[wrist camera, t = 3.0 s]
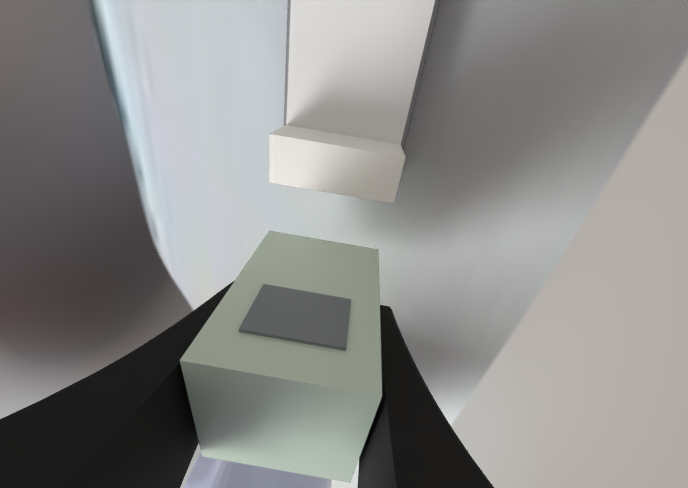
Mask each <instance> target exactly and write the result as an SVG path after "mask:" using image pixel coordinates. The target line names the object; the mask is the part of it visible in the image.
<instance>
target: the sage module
mask: <svg viewBox="0 0 688 488" xmlns="http://www.w3.org/2000/svg"><path fill="white" fill-rule="evenodd" d="M180 364H181V368H182V372H183V377H184V381H185V385H186V389H187V394H188V398H189V402H190V406H191V411H192V415H193V419H194V423H195V428H196V432H197V436H198V440H199V444H200V449H201V453H202V456H203V457H209V458H214V459H220V460H225V461H231V462H237V463H242V464H248V465H253V466H259V467H265V468H270V469H276V470H281V471H287V472H293V473H298V474H304V475H309V476H315V477H321V478H326V479H332V480H337V481H343V482H349V483H350V482H351V479H352V476H353V474H354V471H355V468H356V465H357V463H358V460H359V457H360V455H361V452H362V449H363V447H364V444H365V441H366V439H367V436H368V433H369V430H370V428H371V425H372V422H373V420H374V417H375V414H376V412H377V409H378V406H379V403H380V401H381V398H382V369H381V330H380V290H379V251H378V249H372V248H366V247H361V246H355V245H349V244H343V243H338V242H332V241H326V240H320V239H315V238H309V237H303V236H297V235H292V234H286V233H280V232H274V231H269V232H268V234H267V235H266V237H265V238H264V239H263V241H262V242H261V244H260V245H259V247H258V248H257V250H256V251H255V252H254V254H253V255H252V257H251V258H250V260H249V261H248V263H247V264H246V265H245V267H244V268H243V270H242V271H241V273H240V274H239V276H238V277H237V278H236V280H235V281H234V283H233V284H232V286H231V287H230V289H229V290H228V291H227V293H226V294H225V296H224V297H223V299H222V300H221V302H220V303H219V304H218V306H217V307H216V309H215V310H214V312H213V313H212V315H211V316H210V317H209V319H208V320H207V322H206V323H205V325H204V326H203V328H202V329H201V330H200V332H199V333H198V335H197V336H196V338H195V339H194V341H193V342H192V343H191V345H190V346H189V348H188V349H187V351H186V352H185V353H184V355H183V356H182V358H181V359H180Z"/></svg>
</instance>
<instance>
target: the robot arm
mask: <svg viewBox="0 0 688 488" xmlns="http://www.w3.org/2000/svg"><path fill="white" fill-rule="evenodd" d="M233 283H234V281H233V282H232V283H230V284H229V285H228V286H226V287H225V288H224V289H222V290H221V291H220V292H218V293H217V294H216V295H214V296H213V297H212V298H210V299H209V300H208V301H206V302H205V303H204V304H202V305H201V306H200V307H198V308H197V309H195V310H194V311H193V312H191V313H190V314H188V315H187V316H186V317H184V318H183V319H181V320H180V321H179V322H177V323H176V324H175V325H173V326H171V327H170V328H168V329H167V330H165V331H164V332H162V333H161V334H159V335H158V336H156V337H155V338H153V339H151V340H150V341H148V342H147V343H145V344H144V345H142V346H140V347H139V348H137V349H136V350H134V351H132V352H131V353H129V354H128V355H126V356H124V357H123V358H120V359H119V360H117V361H115V362H114V363H112V364H110V365H108V366H106V367H105V368H103V369H101V370H99V371H98V372H96V373H94V374H92V375H90V376H88V377H86V378H84V379H82V380H80V381H78V382H76V383H74V384H72V385H70V386H69V387H66V388H64V389H62V390H60V391H58V392H56V393H55V394H53V395H51V396H49V397H47V398H45V399H43V400H41V401H39V402H36V403H34V404H32V405H30V406H28V407H26V408H24V409H22V410H19V411H17V412H15V413H13V414H11V415H9V416H7V417H4V418H2V419H0V488H180V486H181V484H182V481H183V479H184V476H185V474H186V471H187V469H188V467H189V464H190V462H191V459H192V457H193V455H194V452H195V450H196V448H197V445H198V443H199V440H198V436H197V432H196V428H195V423H194V419H193V415H192V411H191V406H190V402H189V398H188V394H187V389H186V385H185V381H184V377H183V372H182V368H181V364H180V359H181V358H182V356H183V355H184V353H185V352H186V351H187V349H188V348H189V346H190V345H191V343H192V342H193V341H194V339H195V338H196V336H197V335H198V333H199V332H200V330H201V329H202V328H203V326H204V325H205V323H206V322H207V320H208V319H209V317H210V316H211V315H212V313H213V312H214V310H215V309H216V307H217V306H218V304H219V303H220V302H221V300H222V299H223V297H224V296H225V294H226V293H227V291H228V290H229V289H230V287H231V286H232V284H233ZM380 330H381V369H382V398H381V401H380V403H379V406H378V409H377V412H376V414H375V417H374V420H373V422H372V425H371V428H370V430H369V433H368V436H367V439H366V441H365V444H364V447H363V449H362V452H361V455H360V457H359V475H358V488H494V487H493V486H492V484H491V483H490V482H489V480H488V479H487V478H486V476H485V475H484V474H483V472H482V471H481V470H480V468H479V467H478V466H477V464H476V463H475V461H474V460H473V459H472V457H471V456H470V454H469V453H468V451H467V450H466V449H465V447H464V445H463V444H462V443H461V441H460V440H459V438H458V437H457V435H456V434H455V432H454V430H453V429H452V427H451V426H450V424H449V423H448V421H447V420H446V418H445V416H444V415H443V413H442V412H441V410H440V408H439V407H438V405H437V403H436V401H435V400H434V398H433V396H432V395H431V393H430V391H429V389H428V387H427V386H426V384H425V382H424V380H423V378H422V376H421V374H420V372H419V371H418V369H417V367H416V365H415V363H414V361H413V358H412V356H411V354H410V352H409V350H408V348H407V346H406V344H405V342H404V339H403V337H402V335H401V332H400V330H399V328H398V325H397V323H396V320H395V317H394V315H393V312H392V309H391V308H390V307H389V306H383V305H380ZM331 481H332V479H326V478H321V477H315V476H309V475H304V474H298V473H293V472H287V471H281V470H276V469H270V468H265V467H259V466H253V465H248V464H242V463H237V462H231V461H225V460H220V459H214V458H209V457H203V456H202V453H201V451H200V453H199V455H198V457H197V459H196V461H195V463H194V466H193V468H192V470H191V472H190V474H189V476H188V479H187V481H186V483H185V485H184V488H331Z"/></svg>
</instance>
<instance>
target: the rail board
mask: <svg viewBox="0 0 688 488" xmlns="http://www.w3.org/2000/svg"><path fill="white" fill-rule="evenodd" d="M439 3H440V0H288V13H287V44H286V76H285V107H284V127H282V128H280V129H278V130H276V131H274V132H272V133H271V134H270V144H269V182H271V183H277V184H283V185H289V186H295V187H301V188H306V189H312V190H318V191H324V192H330V193H336V194H342V195H347V196H353V197H359V198H365V199H371V200H377V201H382V202H388V203H394V201H395V197H396V193H397V190H398V186H399V182H400V178H401V174H402V170H403V166H404V162H405V158H406V157H405V154H404V152H403V149H404V145H405V141H406V137H407V133H408V129H409V124H410V120H411V116H412V112H413V108H414V104H415V100H416V96H417V92H418V88H419V84H420V80H421V76H422V72H423V68H424V64H425V59H426V55H427V51H428V47H429V43H430V39H431V35H432V31H433V27H434V23H435V19H436V15H437V11H438V7H439Z"/></svg>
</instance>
